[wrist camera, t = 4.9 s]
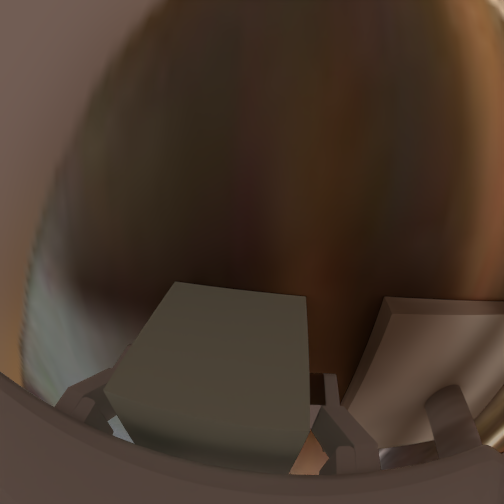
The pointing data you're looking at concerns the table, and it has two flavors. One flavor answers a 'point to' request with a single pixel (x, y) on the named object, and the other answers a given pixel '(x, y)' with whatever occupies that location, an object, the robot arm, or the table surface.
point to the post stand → (429, 372)
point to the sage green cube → (219, 379)
